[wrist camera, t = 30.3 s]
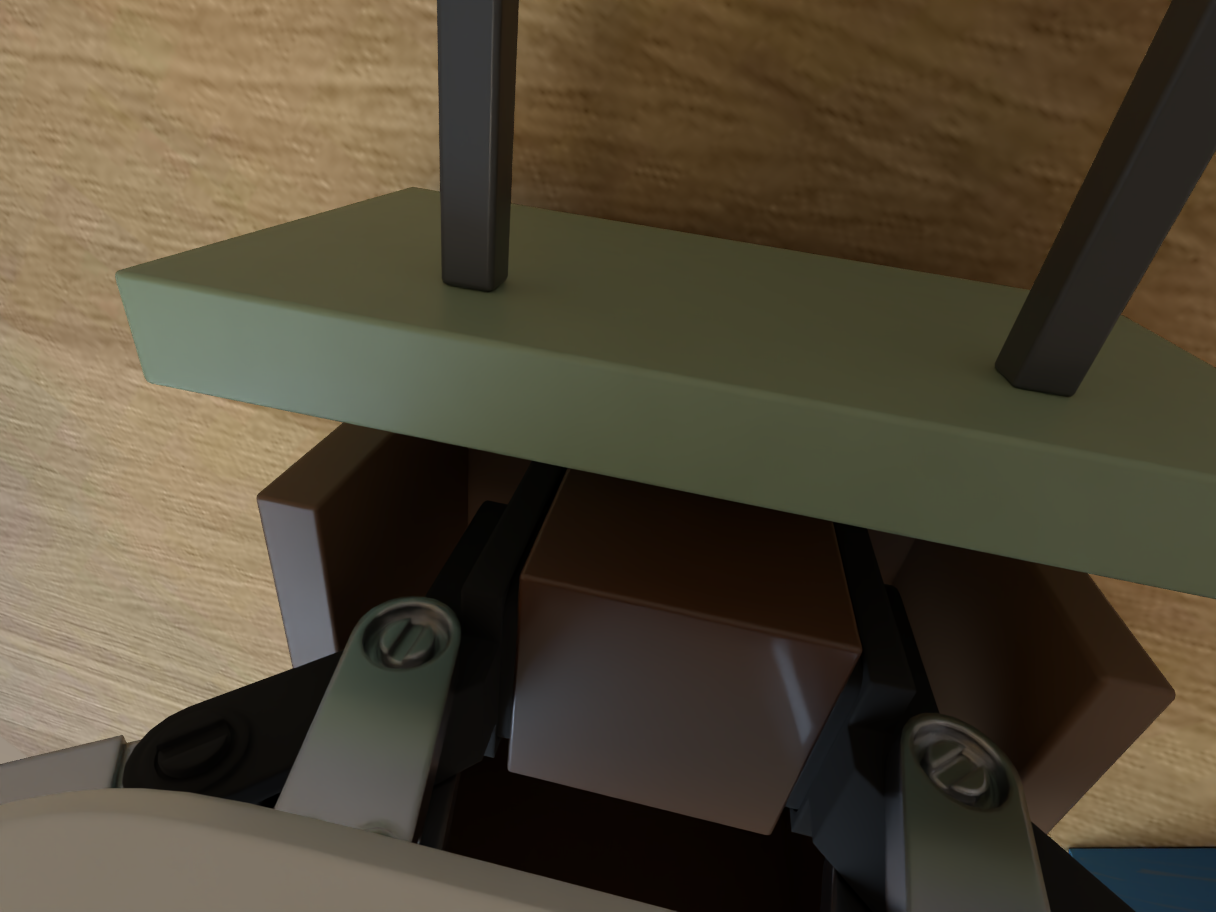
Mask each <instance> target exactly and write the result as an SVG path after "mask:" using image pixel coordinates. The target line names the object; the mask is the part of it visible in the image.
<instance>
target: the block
mask: <svg viewBox="0 0 1216 912" xmlns="http://www.w3.org/2000/svg"><path fill="white" fill-rule="evenodd" d="M517 619H518V624H517V639H516V654H515V669H514V683H513V698H512V713H511V728H510V738H509V745H508V760H507V768H508V770H509V771H510V772H514V773H518V774H522V775H526V776H530V777H534V778H538V779H542V780H546V781H550V782H554V783H558V784H562V785H566V786H570V787H574V788H578V789H582V790H586V791H590V792H594V793H598V794H602V795H606V796H610V797H614V798H618V799H622V800H626V801H631V802H635V803H639V804H643V805H647V806H651V807H655V808H659V809H663V810H667V811H671V812H675V813H679V814H683V815H687V816H691V817H695V818H699V819H703V820H707V821H711V822H715V823H719V824H723V825H727V826H731V827H735V828H739V829H743V830H747V831H751V832H756V833H760V834H764V835H770V834H771V833H772V831H773V829H774V827H775V825H776V823H777V821H778V819H779V817H780V815H781V813H782V811H783V809H784V807H785V805H786V802H787V800H788V798H789V796H790V794H791V792H792V790H793V788H794V786H795V784H796V782H797V780H798V778H799V776H800V774H801V772H802V770H803V768H804V766H805V764H806V762H807V760H808V758H809V756H810V754H811V752H812V750H813V748H814V746H815V744H816V742H817V740H818V738H819V736H820V734H821V732H822V730H823V728H824V726H825V724H826V722H827V720H828V718H829V716H830V714H831V712H832V710H833V708H834V706H835V704H836V702H837V700H838V698H839V696H840V694H841V692H842V691H843V690H844V688H845V686H846V684H847V682H848V680H849V678H850V676H851V674H852V672H853V670H854V668H855V666H856V664H857V662H858V660H859V658H860V656H861V653H862V645H861V641H860V637H859V632H858V628H857V624H856V620H855V615H854V611H853V607H852V602H851V598H850V594H849V589H848V585H847V581H846V576H845V572H844V568H843V564H842V559H841V555H840V551H839V546H838V542H837V538H836V533H835V529H834V525H833V521H828V520H823V519H818V518H813V517H808V516H803V515H798V514H793V513H788V512H783V511H779V510H774V509H769V508H764V507H759V506H754V505H749V504H744V503H739V502H734V501H729V500H724V499H719V498H714V497H709V496H705V495H700V494H695V493H690V492H685V491H680V490H675V489H670V488H665V487H660V486H655V485H650V484H645V483H640V482H636V481H631V480H626V479H621V478H616V477H611V476H606V475H601V474H596V473H591V472H586V471H581V470H576V469H571V468H567V470H566V472H565V475H564V477H563V479H562V481H561V484H560V486H559V488H558V490H557V493H556V495H555V497H554V499H553V502H552V504H551V506H550V508H549V511H548V513H547V515H546V517H545V520H544V522H543V524H542V526H541V529H540V531H539V533H538V535H537V538H536V540H535V542H534V544H533V547H532V549H531V551H530V553H529V556H528V558H527V560H526V562H525V565H524V567H523V569H522V571H521V574H520V577H519V592H518V618H517Z"/></svg>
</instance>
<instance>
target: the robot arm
mask: <svg viewBox="0 0 1216 912" xmlns="http://www.w3.org/2000/svg"><path fill="white" fill-rule="evenodd" d="M566 470H567V468H566V467H562V466H557V465H552V464H547V463H542V462H537V461H531V463H530V465H529V467H528V469H527V471H526V472H525V474H524V476H523V478H522V480H521V481H520V483H519V485H518V487H517V489H516V490H515V492H514V494H513V496H512V498H511V500H510V501H509V503H508V504H503V503H498V502H494V501H489V500H487V501H485V502H483V504H482V505H481V506H480V508H479V509H478V511H477V513H476V514H475V516H474V517H473V519H472V521H471V522H470V524H469V526H468V527H467V529H466V530H465V532H464V534H463V535H462V537H461V539H460V540H459V542H458V543H457V545H456V547H455V548H454V550H453V552H452V553H451V555H450V556H449V558H448V560H447V561H446V563H445V565H444V566H443V568H442V569H441V571H440V573H439V574H438V576H437V578H436V579H435V581H434V582H433V584H432V586H431V587H430V589H429V591H428V592H427V594H426V595H425V597H422V596H408V597H400V598H396V599H392V600H388V601H386V602H384V603H382V604H380V605H378V606H376V607H374V608H372V609H371V610H370V611H369V612H367V613H366V614H365V615H364V616H363V617H361V618H360V620H359V621H358V623H357V624H356V626H355V627H354V629H353V631H352V633H351V635H350V637H349V640H348V642H347V644H346V646H345V649H344V650H342V651H339V652H336V653H334V654H331V655H328V656H326V657H323V658H320V659H317V660H315V661H312V662H309V663H307V664H304V665H301V666H298V667H296V668H293V669H290V670H288V671H285V672H282V673H279V674H277V675H274V676H271V677H269V678H266V679H263V680H260V681H258V682H255V683H252V684H249V685H247V686H244V687H241V688H239V689H236V690H233V691H230V692H228V693H225V694H222V695H220V696H217V697H214V698H211V699H209V700H206V701H203V702H201V703H198V704H195V705H192V706H190V707H188V708H186V709H184V710H181V711H179V712H177V713H175V714H173V715H171V716H169V717H168V718H166V719H165V720H163V721H162V722H161V723H159V724H158V725H157V726H155V727H154V728H152V729H151V730H150V731H149V732H148V733H147V734H146V735H145V736H144V737H143V739H141V740H137V741H133V742H129V743H126V741H125V738H124V736H123V735H121V736H116V737H112V738H108V739H104V740H100V741H95V742H91V743H87V744H83V745H79V746H74V747H70V748H66V749H62V750H58V751H53V752H49V753H45V754H41V755H37V756H32V757H28V758H24V759H20V760H16V761H12V762H7V763H4V764H0V912H677V911H673V910H669V909H666V908H662V907H658V906H654V905H650V904H646V903H643V902H639V901H635V900H631V899H627V898H624V897H620V896H616V895H612V894H608V893H604V892H601V891H597V890H593V889H589V888H585V887H582V886H578V885H574V884H570V883H566V882H562V881H559V880H555V879H551V878H547V877H543V876H539V875H535V874H532V873H528V872H524V871H520V870H516V869H512V868H508V867H504V866H500V865H497V864H493V863H489V862H485V861H481V860H477V859H473V858H469V857H465V856H462V855H458V854H454V853H450V852H446V849H447V844H448V839H449V834H450V829H451V824H452V818H453V813H454V808H455V803H456V798H457V793H458V788H459V782H460V777H461V771H463V770H465V769H467V768H469V767H471V766H473V765H474V764H476V763H478V762H480V761H482V759H483V756H488V757H492V758H494V757H495V755H496V752H497V749H498V746H499V743H500V741H501V738H502V737H503V738H507V739H509V738H510V728H511V713H512V698H513V683H514V669H515V654H516V639H517V624H518V619H517V618H518V592H519V577H520V574H521V571H522V569H523V567H524V565H525V562H526V560H527V558H528V556H529V553H530V551H531V549H532V547H533V544H534V542H535V540H536V538H537V535H538V533H539V531H540V529H541V526H542V524H543V522H544V520H545V517H546V515H547V513H548V511H549V508H550V506H551V504H552V502H553V499H554V497H555V495H556V493H557V490H558V488H559V486H560V484H561V481H562V479H563V477H564V475H565V472H566ZM833 525H834V529H835V533H836V538H837V542H838V546H839V551H840V555H841V559H842V564H843V568H844V572H845V576H846V581H847V585H848V589H849V594H850V598H851V602H852V607H853V611H854V615H855V620H856V624H857V628H858V632H859V637H860V641H861V645H862V653H861V656H860V658H859V660H858V662H857V664H856V666H855V668H854V670H853V672H852V674H851V676H850V678H849V680H848V682H847V684H846V686H845V688H844V690H843V691H842V692H841V694H840V696H839V698H838V700H837V702H836V704H835V706H834V708H833V710H832V712H831V714H830V716H829V718H828V720H827V722H826V724H825V726H824V728H823V730H822V732H821V734H820V736H819V738H818V740H817V742H816V744H815V746H814V748H813V750H812V752H811V754H810V756H809V758H808V760H807V762H806V764H805V766H804V768H803V770H802V772H801V774H800V776H799V778H798V780H797V782H796V784H795V786H794V788H793V790H792V792H791V794H790V796H789V798H788V800H787V802H786V805H785V807H789V808H790V821H791V832H795V833H799V834H803V835H807V836H811V837H812V841H813V844H814V845H815V846H816V847H817V848H818V849H819V851H820V852H821V853H822V854H823V855H824V856H825V861H824V865H823V878H822V892H821V906H820V912H1136V911H1134V910H1133V909H1132V908H1131V907H1130V906H1129V905H1128V904H1126V903H1125V902H1124V901H1123V900H1122V899H1121V898H1119V897H1118V896H1117V895H1116V894H1115V893H1114V892H1112V891H1111V890H1110V889H1109V888H1108V887H1107V886H1106V885H1104V884H1103V883H1102V882H1101V881H1100V880H1099V879H1097V878H1096V877H1095V876H1094V875H1093V874H1092V873H1091V872H1089V871H1088V870H1087V869H1086V868H1085V867H1084V866H1082V865H1081V864H1080V863H1079V862H1078V861H1077V860H1075V859H1074V858H1073V857H1072V856H1071V855H1070V854H1069V853H1067V852H1066V851H1065V850H1064V849H1063V848H1062V847H1060V846H1059V845H1058V844H1057V843H1056V842H1055V841H1054V840H1052V839H1051V838H1050V837H1049V836H1048V835H1047V834H1045V833H1044V832H1043V831H1042V830H1041V829H1040V828H1039V827H1037V826H1036V825H1035V824H1034V823H1033V822H1032V821H1031V819H1030V815H1029V810H1028V806H1027V801H1026V797H1025V792H1024V787H1023V785H1022V782H1021V780H1020V777H1019V774H1018V772H1017V770H1016V768H1015V767H1014V765H1013V764H1012V762H1011V761H1010V759H1009V758H1008V756H1007V755H1006V754H1005V752H1004V751H1003V750H1002V749H1000V748H999V747H998V746H997V745H996V744H995V743H994V742H993V741H992V740H991V739H990V738H989V737H988V736H986V735H985V734H984V733H982V732H981V731H979V730H978V729H977V728H975V727H974V726H972V725H970V724H968V723H966V722H964V721H962V720H960V719H958V718H955V717H952V716H948V715H944V714H940V713H939V710H938V707H937V704H936V701H935V698H934V695H933V692H932V689H931V686H930V683H929V680H928V677H927V674H926V671H925V668H924V665H923V662H922V659H921V656H920V653H919V650H918V647H917V644H916V641H915V638H914V635H913V632H912V629H911V626H910V623H909V620H908V616H907V613H906V610H905V607H904V604H903V601H902V598H901V595H900V593H899V591H898V589H897V588H896V587H894V586H893V585H888V584H884V582H883V579H882V576H881V573H880V569H879V566H878V563H877V559H876V556H875V553H874V550H873V546H872V543H871V540H870V536H869V533H868V530H867V528H862V527H857V526H852V525H848V524H843V523H838V522H833Z"/></svg>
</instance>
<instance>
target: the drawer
mask: <svg viewBox="0 0 1216 912" xmlns="http://www.w3.org/2000/svg"><path fill="white" fill-rule="evenodd" d="M518 8H519V0H437V26H438V86H439V146H440V192H439V191H433V190H427V189H421V188H415V187H411V188H407V189H404V190H400V191H396V192H393V193H389V194H386V195H382V196H379V197H375V198H372V199H368V200H365V201H361V202H358V203H354V204H351V205H347V206H344V207H340V208H337V209H333V210H330V211H326V212H323V213H319V214H316V215H312V216H309V217H305V218H301V219H298V220H294V221H291V222H287V223H284V224H280V225H277V226H273V227H270V228H266V229H263V230H259V231H256V232H252V233H249V234H245V235H242V236H238V237H235V238H231V239H228V240H224V241H221V242H217V243H214V244H210V245H206V246H203V247H199V248H196V249H192V250H189V251H185V252H182V253H178V254H175V255H171V256H168V257H164V258H161V259H157V260H154V261H150V262H147V263H143V264H140V265H136V266H133V267H129V268H126V269H122V270H119V271H117V272H116V275H115V278H116V281H117V285H118V288H119V292H120V295H121V298H122V302H123V305H124V309H125V312H126V315H127V319H128V322H129V326H130V329H131V332H132V336H133V339H134V343H135V346H136V349H137V353H138V356H139V360H140V363H141V366H142V370H143V373H144V377H145V379H146V380H147V381H148V382H150V383H152V384H157V385H162V386H167V387H172V388H177V389H182V390H187V391H192V392H197V393H202V394H207V395H211V396H216V397H221V398H226V399H231V400H236V401H241V402H246V403H251V404H256V405H261V406H266V407H271V408H276V409H280V410H285V411H290V412H295V413H300V414H305V415H310V416H315V417H320V418H325V419H330V420H335V421H340V422H343V423H342V424H341V425H340V426H339V427H337V428H336V429H335V430H334V431H333V432H331V433H330V434H329V435H328V436H327V437H325V438H324V439H323V440H322V441H321V442H319V443H318V444H317V445H316V446H315V447H313V448H312V449H311V450H310V451H309V452H308V453H306V454H305V455H304V456H303V457H302V458H300V459H299V460H298V461H297V462H296V463H294V464H293V465H292V466H291V467H290V468H288V469H287V470H286V471H285V472H284V473H282V474H281V475H280V476H279V477H278V478H277V479H275V480H274V481H273V482H272V483H271V484H269V485H268V486H267V487H266V488H265V489H263V490H262V491H261V492H260V493H259V494H258V495H257V503H258V508H259V512H260V517H261V522H262V526H263V531H264V536H265V540H266V545H267V550H268V554H269V559H270V564H271V568H272V573H273V578H274V582H275V587H276V592H277V596H278V601H279V606H280V610H281V615H282V620H283V624H284V629H285V634H286V638H287V643H288V648H289V652H290V657H291V662H292V666H293V668H296V667H298V666H301V665H304V664H307V663H309V662H312V661H315V660H317V659H320V658H323V657H326V656H328V655H331V654H334V653H336V652H339V651H342V650H344V649H345V646H346V644H347V642H348V640H349V637H350V635H351V633H352V631H353V629H354V627H355V626H356V624H357V623H358V621H359V620H360V618H361V617H363V616H364V615H365V614H366V613H367V612H369V611H370V610H371V609H372V608H374V607H376V606H378V605H380V604H382V603H384V602H386V601H388V600H392V599H396V598H400V597H408V596H422V597H425V595H426V594H427V592H428V591H429V589H430V587H431V586H432V584H433V582H434V581H435V579H436V578H437V576H438V574H439V573H440V571H441V569H442V568H443V566H444V565H445V563H446V561H447V560H448V558H449V556H450V555H451V553H452V552H453V550H454V548H455V547H456V545H457V543H458V542H459V540H460V539H461V537H462V535H463V534H464V532H465V530H466V529H467V527H468V526H469V524H470V522H471V521H472V519H473V517H474V516H475V514H476V513H477V511H478V509H479V508H480V506H481V505H482V504H483V502H485V501H487V500H489V501H494V502H498V503H503V504H508V503H509V501H510V500H511V498H512V496H513V494H514V492H515V490H516V489H517V487H518V485H519V483H520V481H521V480H522V478H523V476H524V474H525V472H526V471H527V469H528V467H529V465H530V463H531V461H537V462H542V463H547V464H552V465H557V466H562V467H566V468H571V469H576V470H581V471H586V472H591V473H596V474H601V475H606V476H611V477H616V478H621V479H626V480H631V481H636V482H640V483H645V484H650V485H655V486H660V487H665V488H670V489H675V490H680V491H685V492H690V493H695V494H700V495H705V496H709V497H714V498H719V499H724V500H729V501H734V502H739V503H744V504H749V505H754V506H759V507H764V508H769V509H774V510H779V511H783V512H788V513H793V514H798V515H803V516H808V517H813V518H818V519H823V520H828V521H833V522H838V523H843V524H848V525H852V526H857V527H862V528H867V530H868V533H869V536H870V540H871V543H872V546H873V550H874V553H875V556H876V559H877V563H878V566H879V569H880V573H881V576H882V579H883V582H884V584H888V585H893V586H894V587H896V588H897V589H898V591H899V593H900V595H901V598H902V601H903V604H904V607H905V610H906V613H907V616H908V620H909V623H910V626H911V629H912V632H913V635H914V638H915V641H916V644H917V647H918V650H919V653H920V656H921V659H922V662H923V665H924V668H925V671H926V674H927V677H928V680H929V683H930V686H931V689H932V692H933V695H934V698H935V701H936V704H937V707H938V710H939V713H940V714H944V715H948V716H952V717H955V718H958V719H960V720H962V721H964V722H966V723H968V724H970V725H972V726H974V727H975V728H977V729H978V730H979V731H981V732H982V733H984V734H985V735H986V736H988V737H989V738H990V739H991V740H992V741H993V742H994V743H995V744H996V745H997V746H998V747H999V748H1000V749H1002V750H1003V751H1004V752H1005V754H1006V755H1007V756H1008V758H1009V759H1010V761H1011V762H1012V764H1013V765H1014V767H1015V768H1016V770H1017V772H1018V774H1019V777H1020V780H1021V782H1022V785H1023V787H1024V792H1025V797H1026V801H1027V806H1028V810H1029V815H1030V819H1031V821H1032V822H1033V823H1034V824H1035V825H1036V826H1037V827H1039V828H1040V829H1041V830H1042V831H1043V832H1044V833H1045V834H1048V832H1049V831H1050V830H1051V829H1052V828H1053V827H1054V826H1055V825H1056V824H1057V823H1058V822H1059V821H1060V820H1061V819H1062V818H1063V817H1064V816H1065V814H1066V813H1067V812H1068V811H1069V810H1070V809H1071V808H1072V807H1073V806H1074V805H1075V804H1076V803H1077V802H1078V801H1079V800H1080V799H1081V798H1082V796H1083V795H1084V794H1085V793H1086V792H1087V791H1088V790H1089V789H1090V788H1091V787H1092V786H1093V785H1094V784H1095V783H1096V782H1097V781H1098V780H1099V778H1100V777H1101V776H1102V775H1103V774H1104V773H1105V772H1106V771H1107V770H1108V769H1109V768H1110V767H1111V766H1112V765H1113V764H1114V763H1115V762H1116V760H1117V759H1118V758H1119V757H1120V756H1121V755H1122V754H1123V753H1124V752H1125V751H1126V750H1127V749H1128V748H1129V747H1130V746H1131V745H1132V744H1133V742H1134V741H1135V740H1136V739H1137V738H1138V737H1139V736H1140V735H1141V734H1142V733H1143V732H1144V731H1145V730H1146V729H1147V728H1148V727H1149V726H1150V724H1151V723H1152V722H1153V721H1154V720H1155V719H1156V718H1157V717H1158V716H1159V715H1160V714H1161V713H1162V712H1163V711H1164V710H1165V709H1166V708H1167V706H1168V705H1169V704H1170V703H1171V702H1172V701H1173V700H1174V699H1175V695H1176V694H1175V691H1174V689H1173V688H1172V686H1171V685H1170V684H1169V682H1168V681H1167V680H1166V678H1165V677H1164V675H1163V674H1162V673H1161V671H1160V670H1159V669H1158V667H1157V666H1156V665H1155V663H1154V662H1153V661H1152V659H1151V658H1150V657H1149V655H1148V654H1147V653H1146V651H1145V650H1144V649H1143V647H1142V646H1141V645H1140V643H1139V642H1138V640H1137V639H1136V638H1135V636H1134V635H1133V634H1132V632H1131V631H1130V630H1129V628H1128V627H1127V626H1126V624H1125V623H1124V622H1123V620H1122V619H1121V618H1120V616H1119V615H1118V614H1117V612H1116V611H1115V610H1114V608H1113V607H1112V605H1111V604H1110V603H1109V601H1108V600H1107V599H1106V597H1105V596H1104V595H1103V593H1102V592H1101V591H1100V589H1099V588H1098V587H1097V585H1096V584H1095V583H1094V581H1093V580H1092V579H1091V577H1090V576H1089V575H1088V573H1089V574H1094V575H1099V576H1104V577H1109V578H1114V579H1119V580H1124V581H1129V582H1134V583H1138V584H1143V585H1148V586H1153V587H1158V588H1163V589H1168V590H1173V591H1178V592H1183V593H1188V594H1193V595H1198V596H1203V597H1208V598H1212V599H1216V368H1215V367H1213V366H1211V365H1210V364H1208V363H1206V362H1204V361H1203V360H1201V359H1199V358H1197V357H1196V356H1194V355H1192V354H1190V353H1188V352H1187V351H1185V350H1183V349H1181V348H1180V347H1178V346H1176V345H1174V344H1172V343H1171V342H1169V341H1167V340H1165V339H1164V338H1162V337H1160V336H1158V335H1156V334H1155V333H1153V332H1151V331H1149V330H1148V329H1146V328H1144V327H1142V326H1141V325H1139V324H1137V323H1135V322H1133V321H1132V320H1130V319H1128V318H1126V317H1125V316H1123V315H1121V313H1122V312H1123V310H1124V308H1125V306H1126V305H1127V303H1128V301H1129V300H1130V298H1131V296H1132V294H1133V293H1134V291H1135V289H1136V287H1137V286H1138V284H1139V282H1140V281H1141V279H1142V277H1143V275H1144V274H1145V272H1146V270H1147V268H1148V267H1149V265H1150V263H1151V262H1152V260H1153V258H1154V256H1155V255H1156V253H1157V251H1158V249H1159V248H1160V246H1161V244H1162V243H1163V241H1164V239H1165V237H1166V236H1167V234H1168V232H1169V230H1170V229H1171V227H1172V225H1173V224H1174V222H1175V220H1176V218H1177V217H1178V215H1179V213H1180V211H1181V210H1182V208H1183V206H1184V205H1185V203H1186V201H1187V199H1188V198H1189V196H1190V194H1191V192H1192V191H1193V189H1194V187H1195V185H1196V184H1197V182H1198V180H1199V179H1200V177H1201V175H1202V173H1203V172H1204V170H1205V168H1206V166H1207V165H1208V163H1209V161H1210V160H1211V158H1212V156H1213V154H1214V153H1215V151H1216V0H1172V1H1171V3H1170V6H1169V8H1168V10H1167V12H1166V14H1165V16H1164V18H1163V20H1162V22H1161V24H1160V26H1159V28H1158V30H1157V32H1156V34H1155V36H1154V38H1153V40H1152V42H1151V44H1150V46H1149V48H1148V51H1147V53H1146V55H1145V57H1144V59H1143V61H1142V63H1141V65H1140V67H1139V69H1138V71H1137V73H1136V75H1135V77H1134V79H1133V81H1132V83H1131V85H1130V87H1129V89H1128V91H1127V93H1126V96H1125V98H1124V100H1123V102H1122V104H1121V106H1120V108H1119V110H1118V112H1117V114H1116V116H1115V118H1114V120H1113V122H1112V124H1111V126H1110V128H1109V130H1108V132H1107V134H1106V136H1105V138H1104V141H1103V143H1102V145H1101V147H1100V149H1099V151H1098V153H1097V155H1096V157H1095V159H1094V161H1093V163H1092V165H1091V167H1090V169H1089V171H1088V173H1087V175H1086V177H1085V179H1084V181H1083V183H1082V186H1081V188H1080V190H1079V192H1078V194H1077V196H1076V198H1075V200H1074V202H1073V204H1072V206H1071V208H1070V210H1069V212H1068V214H1067V216H1066V218H1065V220H1064V222H1063V224H1062V226H1061V228H1060V231H1059V233H1058V235H1057V237H1056V239H1055V241H1054V243H1053V245H1052V247H1051V249H1050V251H1049V253H1048V255H1047V257H1046V259H1045V261H1044V263H1043V265H1042V267H1041V269H1040V271H1039V273H1038V276H1037V278H1036V280H1035V282H1034V284H1033V286H1032V288H1031V290H1027V289H1021V288H1015V287H1009V286H1003V285H997V284H991V283H985V282H979V281H973V280H967V279H961V278H955V277H949V276H943V275H937V274H931V273H925V272H919V271H913V270H907V269H901V268H895V267H889V266H883V265H877V264H871V263H865V262H859V261H853V260H847V259H841V258H835V257H829V256H823V255H817V254H811V253H805V252H799V251H793V250H787V249H781V248H775V247H769V246H763V245H757V244H751V243H745V242H739V241H733V240H727V239H721V238H715V237H709V236H703V235H697V234H691V233H685V232H679V231H673V230H667V229H661V228H655V227H649V226H643V225H637V224H631V223H625V222H619V221H613V220H607V219H601V218H595V217H589V216H583V215H577V214H571V213H565V212H559V211H553V210H547V209H541V208H535V207H529V206H523V205H517V204H511V185H512V160H513V135H514V109H515V84H516V59H517V33H518ZM508 745H509V739H507V738H503V737H502V738H501V741H500V743H499V746H498V749H497V752H496V755H495V757H494V758H492V757H488V756H483V759H482V761H480V762H478V763H476V764H474V765H473V766H471V767H469V768H467V769H465V770H463V771H461V777H460V782H459V788H458V793H457V798H456V803H455V808H454V813H453V818H452V824H451V829H450V834H449V839H448V844H447V849H446V852H450V853H454V854H458V855H462V856H465V857H469V858H473V859H477V860H481V861H485V862H489V863H493V864H497V865H500V866H504V867H508V868H512V869H516V870H520V871H524V872H528V873H532V874H535V875H539V876H543V877H547V878H551V879H555V880H559V881H562V882H566V883H570V884H574V885H578V886H582V887H585V888H589V889H593V890H597V891H601V892H604V893H608V894H612V895H616V896H620V897H624V898H627V899H631V900H635V901H639V902H643V903H646V904H650V905H654V906H658V907H662V908H666V909H669V910H673V911H677V912H820V906H821V892H822V878H823V865H824V861H825V856H824V855H823V854H822V853H821V852H820V851H819V849H818V848H817V847H816V846H815V845H814V844H813V841H812V837H811V836H807V835H803V834H799V833H795V832H791V821H790V808H789V807H784V809H783V811H782V813H781V815H780V817H779V819H778V821H777V823H776V825H775V827H774V829H773V831H772V833H771V834H770V835H764V834H760V833H756V832H751V831H747V830H743V829H739V828H735V827H731V826H727V825H723V824H719V823H715V822H711V821H707V820H703V819H699V818H695V817H691V816H687V815H683V814H679V813H675V812H671V811H667V810H663V809H659V808H655V807H651V806H647V805H643V804H639V803H635V802H631V801H626V800H622V799H618V798H614V797H610V796H606V795H602V794H598V793H594V792H590V791H586V790H582V789H578V788H574V787H570V786H566V785H562V784H558V783H554V782H550V781H546V780H542V779H538V778H534V777H530V776H526V775H522V774H518V773H514V772H510V771H509V770H508V768H507V760H508Z"/></svg>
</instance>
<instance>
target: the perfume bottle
mask: <svg viewBox="0 0 1216 912" xmlns="http://www.w3.org/2000/svg"><path fill="white" fill-rule="evenodd" d="M1069 854H1070V855H1071V856H1072V857H1073V858H1074V859H1075V860H1077V861H1078V862H1079V863H1080V864H1081V865H1082V866H1084V867H1085V868H1086V869H1087V870H1088V871H1089V872H1091V873H1092V874H1093V875H1094V876H1095V877H1096V878H1097V879H1099V880H1100V881H1101V882H1102V883H1103V884H1104V885H1106V886H1107V887H1108V888H1109V889H1110V890H1111V891H1112V892H1114V893H1115V894H1116V895H1117V896H1118V897H1119V898H1121V899H1122V900H1123V901H1124V902H1125V903H1126V904H1128V905H1129V906H1130V907H1131V908H1132V909H1133V910H1134V911H1136V912H1216V848H1195V849H1069Z"/></svg>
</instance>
